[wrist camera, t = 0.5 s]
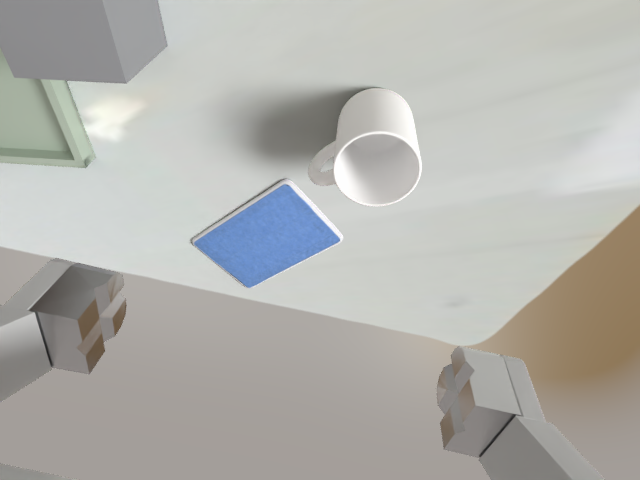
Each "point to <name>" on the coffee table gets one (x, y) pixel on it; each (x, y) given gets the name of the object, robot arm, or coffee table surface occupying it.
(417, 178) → the mug
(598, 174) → the coffee table surface
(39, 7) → the block
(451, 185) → the coffee table surface
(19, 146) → the tray
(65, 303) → the robot arm
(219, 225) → the tablet computer
